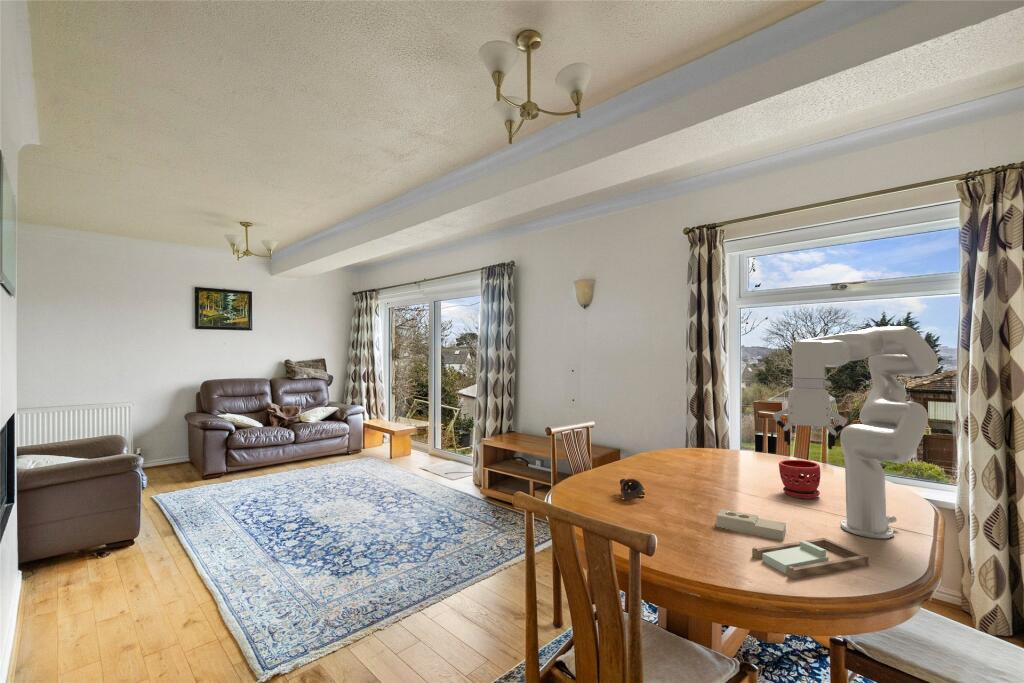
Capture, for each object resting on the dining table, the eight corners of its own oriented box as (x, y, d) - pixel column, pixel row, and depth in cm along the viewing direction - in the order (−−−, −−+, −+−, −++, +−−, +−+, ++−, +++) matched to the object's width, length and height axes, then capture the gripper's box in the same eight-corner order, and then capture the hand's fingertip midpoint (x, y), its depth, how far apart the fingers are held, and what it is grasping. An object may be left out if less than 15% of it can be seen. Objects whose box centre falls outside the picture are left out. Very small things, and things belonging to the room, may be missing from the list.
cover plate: (804, 555, 124) (803, 539, 124) (828, 566, 117) (828, 550, 117) (762, 562, 120) (762, 547, 120) (785, 575, 113) (785, 558, 113)
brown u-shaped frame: (823, 544, 129) (823, 535, 129) (868, 564, 117) (868, 554, 117) (752, 556, 122) (752, 547, 122) (792, 579, 110) (791, 568, 110)
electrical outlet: (783, 527, 132) (716, 515, 143) (783, 541, 132) (716, 528, 143) (785, 519, 138) (720, 508, 148) (785, 533, 138) (721, 521, 148)
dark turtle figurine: (652, 500, 170) (648, 484, 166) (633, 515, 167) (629, 498, 163) (630, 484, 180) (625, 468, 177) (611, 497, 177) (607, 482, 173)
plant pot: (808, 489, 177) (808, 458, 178) (828, 501, 164) (827, 467, 164) (773, 489, 179) (772, 458, 179) (790, 500, 166) (789, 467, 166)
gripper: (845, 385, 126) (845, 448, 126) (773, 382, 135) (773, 441, 135) (848, 386, 120) (849, 452, 120) (772, 384, 129) (772, 445, 128)
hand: (808, 446), depth 127 cm, fingers open, 9 cm apart
